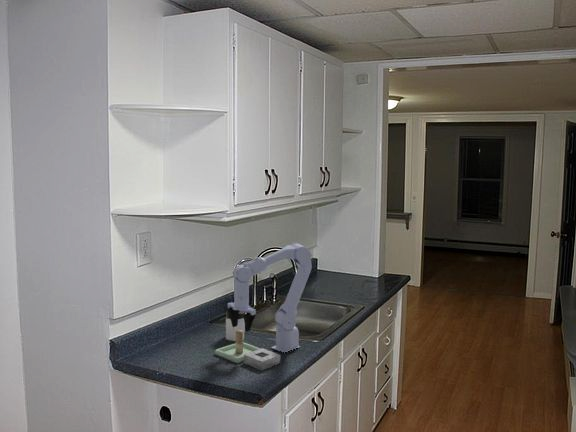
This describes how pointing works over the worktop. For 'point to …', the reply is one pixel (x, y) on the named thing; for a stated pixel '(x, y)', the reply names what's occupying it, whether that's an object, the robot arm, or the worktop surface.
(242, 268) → the robot arm
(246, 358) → the socket block
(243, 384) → the worktop surface
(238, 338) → the pin
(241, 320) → the jar
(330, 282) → the worktop surface
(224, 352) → the tray
